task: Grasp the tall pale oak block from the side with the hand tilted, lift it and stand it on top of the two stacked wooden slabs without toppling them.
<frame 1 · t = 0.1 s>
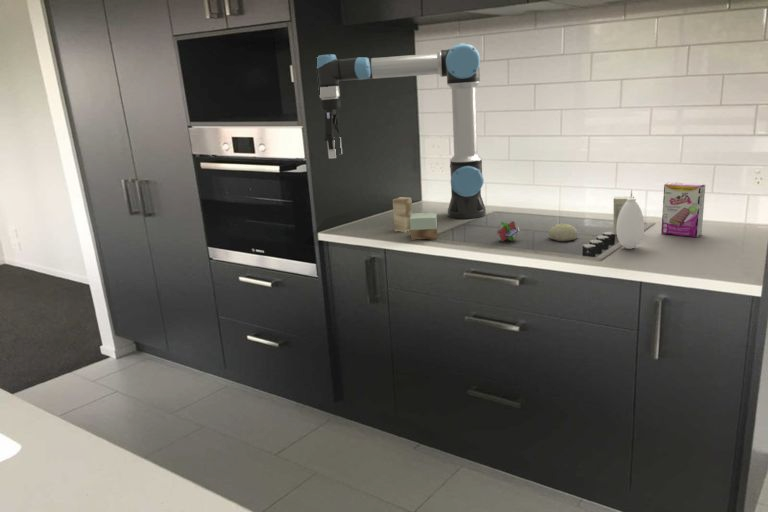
hand: (335, 156, 237), 28 cm above the countertop, tool pointing down, fingers open, 13 cm apart
tower base block: (424, 237, 222), on the countertop, touching tower top block
candy bar box: (681, 235, 202), on the countertop
geometric puzzle: (507, 241, 208), on the countertop
sea urchin shell: (563, 239, 207), on the countertop
skincare box: (623, 234, 207), on the countertop
tall oak block: (404, 230, 233), on the countertop
white air blower bulb: (629, 248, 190), on the countertop
tower top block: (423, 226, 221), point 4 cm above the countertop, touching tower base block
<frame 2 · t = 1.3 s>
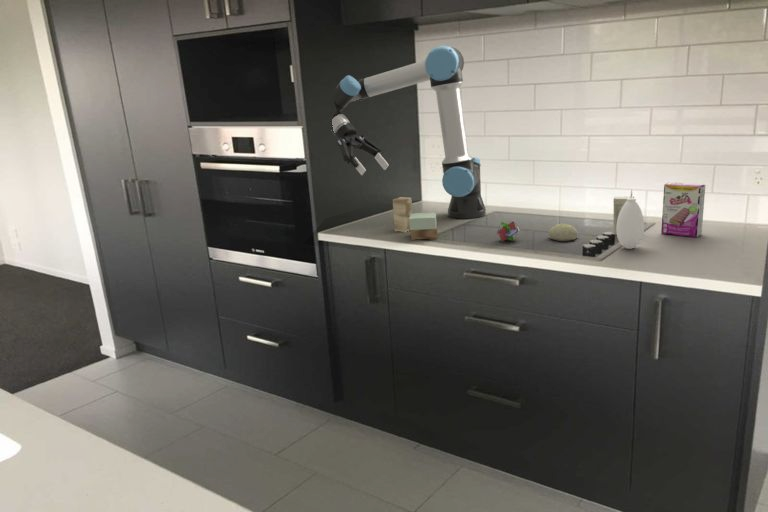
hand: (375, 170, 234), 22 cm above the countertop, tool tilted 45°, fingers open, 13 cm apart
nothing on the countertop moved.
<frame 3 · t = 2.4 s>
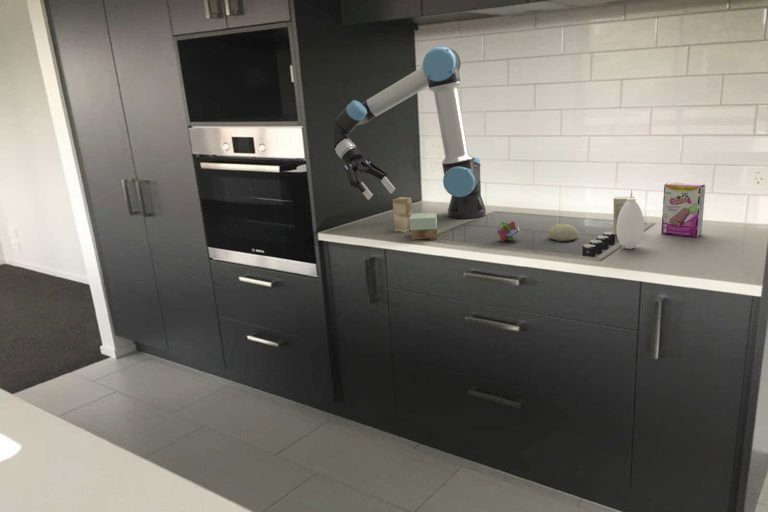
hand: (382, 194, 235), 13 cm above the countertop, tool tilted 45°, fingers open, 13 cm apart
nothing on the countertop moved.
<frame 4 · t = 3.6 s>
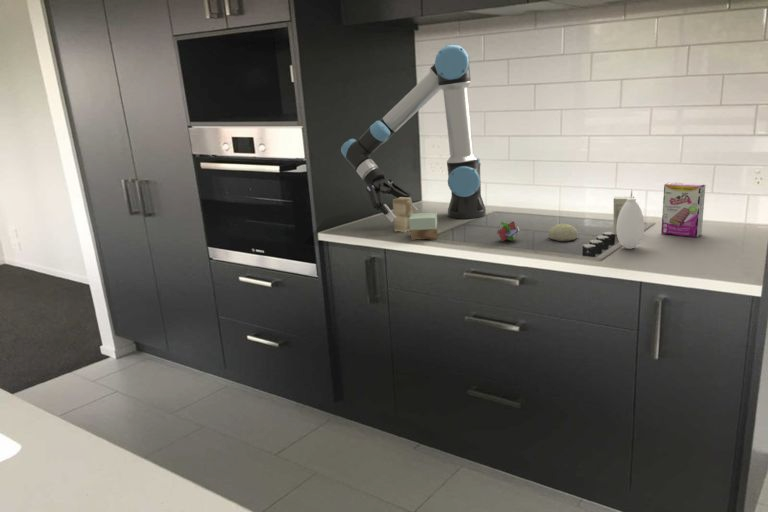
hand: (405, 216, 231), 5 cm above the countertop, tool tilted 45°, fingers open, 13 cm apart
nothing on the countertop moved.
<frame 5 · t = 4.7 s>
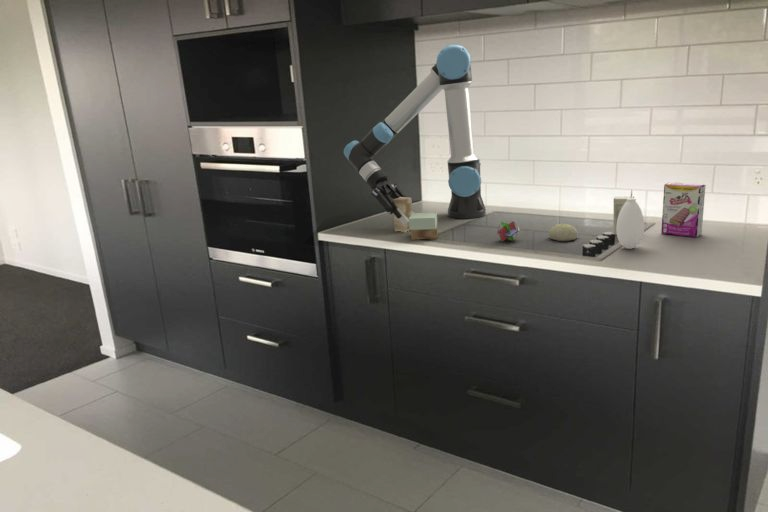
hand: (411, 221, 230), 4 cm above the countertop, tool tilted 45°, fingers closed on tall oak block, 5 cm apart
tall oak block: (404, 230, 233), on the countertop, touching gripper
everything else where it was.
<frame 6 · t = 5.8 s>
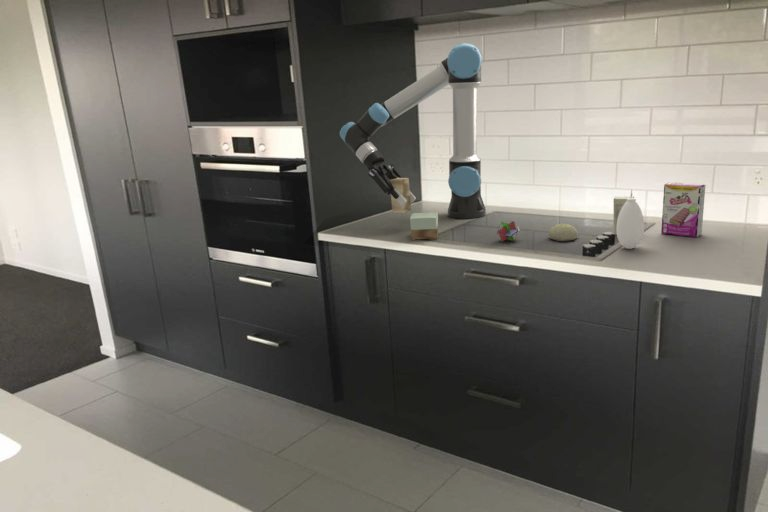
hand: (409, 202, 228), 11 cm above the countertop, tool tilted 45°, fingers closed on tall oak block, 5 cm apart
tall oak block: (401, 211, 231), point 7 cm above the countertop, touching gripper
everything else where it was.
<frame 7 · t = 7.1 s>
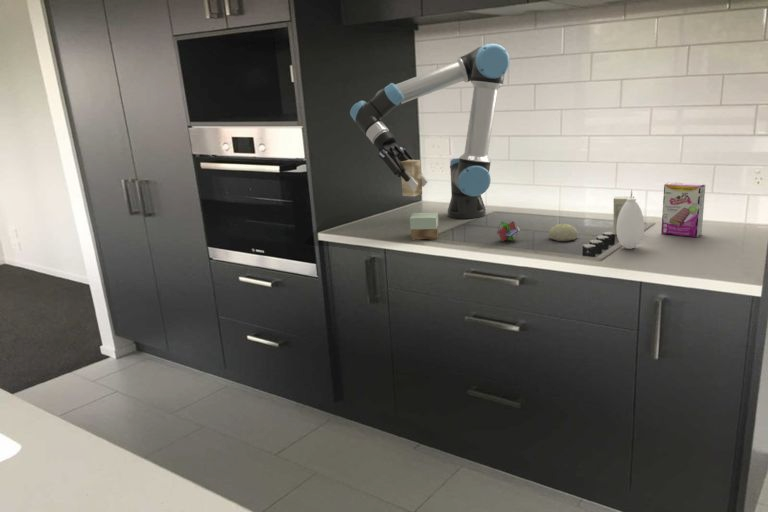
hand: (420, 185, 218), 18 cm above the countertop, tool tilted 45°, fingers closed on tall oak block, 5 cm apart
tower base block: (425, 237, 222), on the countertop
tall oak block: (412, 194, 221), point 15 cm above the countertop, touching gripper
tower top block: (424, 226, 221), point 4 cm above the countertop
everything else where it was.
when the fingers open (13 cm above the countertop, at t = 8.9 s): tall oak block drops 2 cm, resting on tower top block.
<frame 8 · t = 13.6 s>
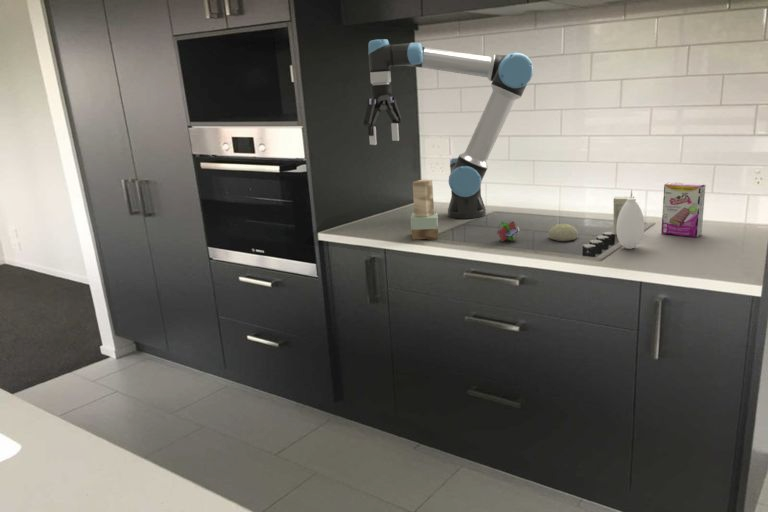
hand: (384, 142, 235), 32 cm above the countertop, tool pointing down, fingers open, 13 cm apart
tower base block: (425, 237, 222), on the countertop, touching tower top block
tall oak block: (424, 215, 220), point 8 cm above the countertop, touching tower top block
tower top block: (424, 226, 221), point 4 cm above the countertop, touching tall oak block, tower base block
everything else where it was.
at the end: tall oak block inside the target area on the tower top block (0.0 cm from its centre), point 4.0 cm above the tower top block's base; tall oak block tilted 1°; tower top block moved 0.5 cm from its start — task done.
